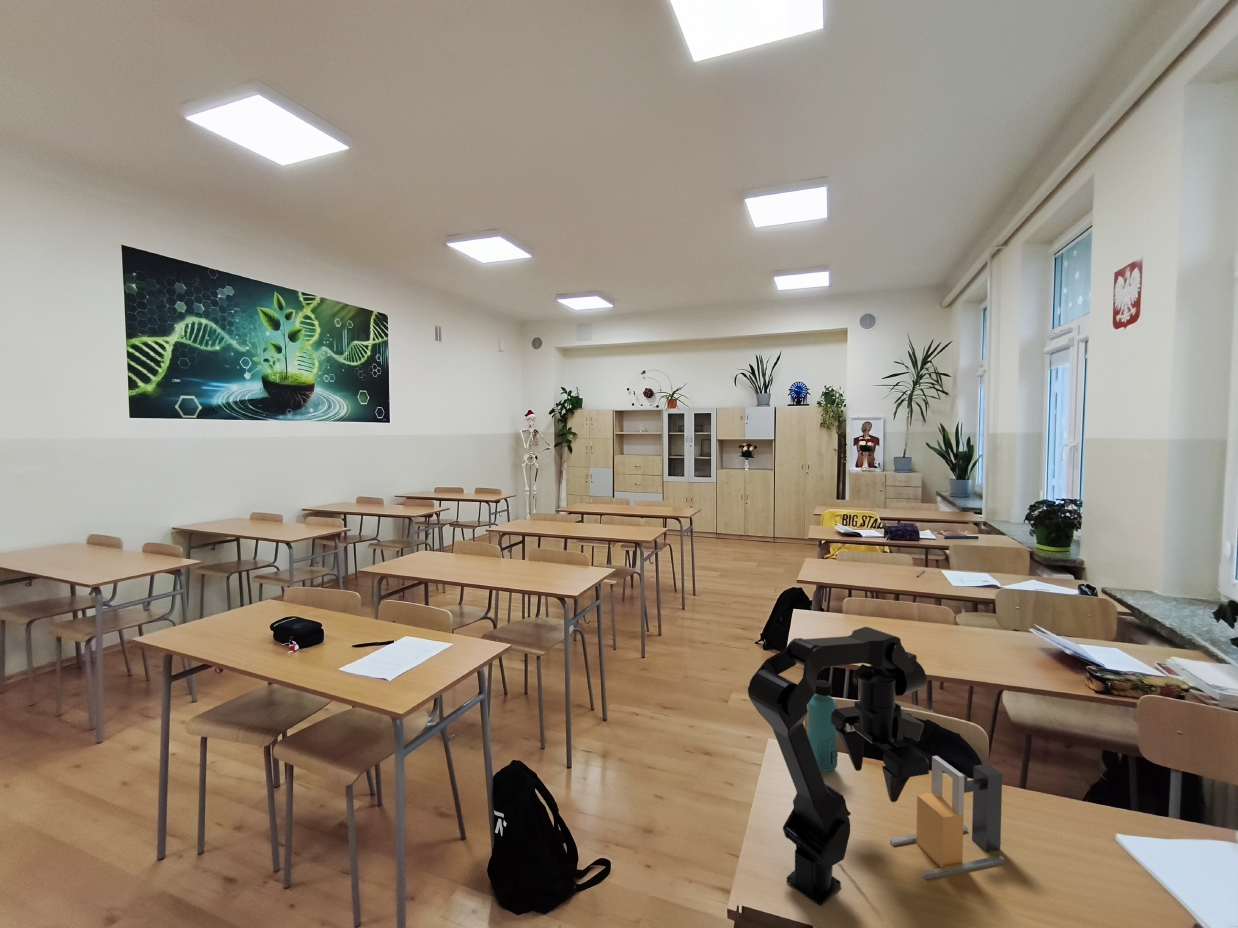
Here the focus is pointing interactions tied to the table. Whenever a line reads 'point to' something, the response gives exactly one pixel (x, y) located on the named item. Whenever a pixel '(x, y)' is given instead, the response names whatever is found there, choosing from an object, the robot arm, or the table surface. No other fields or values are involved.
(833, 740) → the beverage bottle
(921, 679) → the robot arm
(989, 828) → the grey stand with block
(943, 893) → the table surface
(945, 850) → the orange padlock
